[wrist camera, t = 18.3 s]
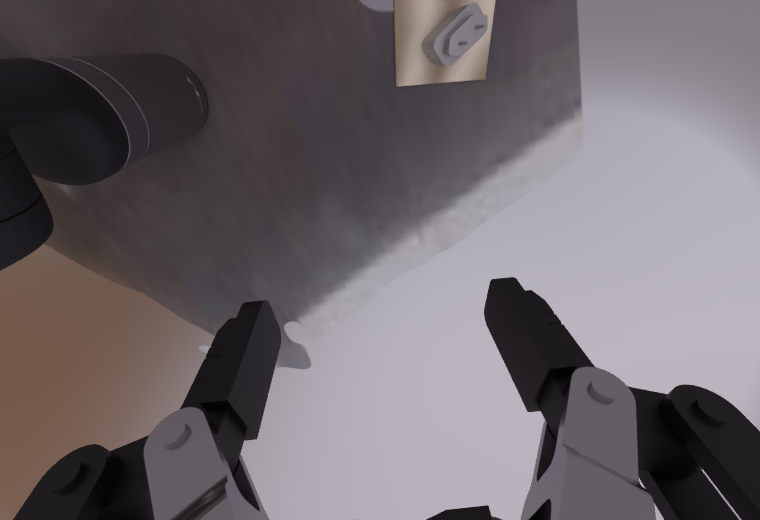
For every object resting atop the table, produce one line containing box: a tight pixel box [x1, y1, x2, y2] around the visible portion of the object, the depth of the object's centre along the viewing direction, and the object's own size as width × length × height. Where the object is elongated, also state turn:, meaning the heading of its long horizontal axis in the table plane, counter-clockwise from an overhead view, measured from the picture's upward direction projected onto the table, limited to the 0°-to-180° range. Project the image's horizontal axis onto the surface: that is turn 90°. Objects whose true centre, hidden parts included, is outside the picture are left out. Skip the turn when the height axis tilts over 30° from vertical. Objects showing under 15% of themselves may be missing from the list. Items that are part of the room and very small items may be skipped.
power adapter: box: [421, 3, 488, 66], centre depth 31 cm, size 3×5×12 cm, turn 132°
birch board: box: [393, 0, 495, 87], centre depth 36 cm, size 12×10×1 cm
